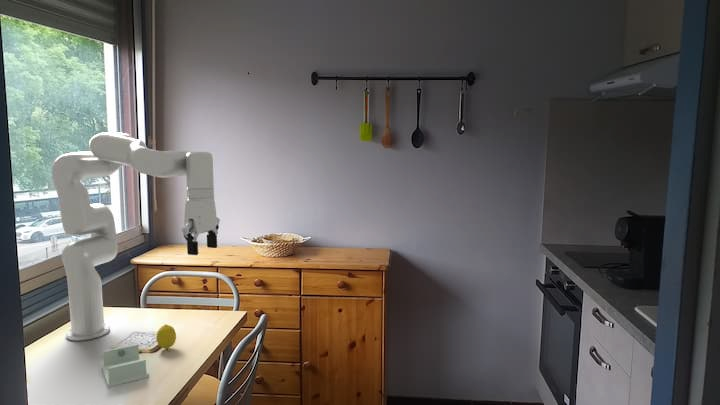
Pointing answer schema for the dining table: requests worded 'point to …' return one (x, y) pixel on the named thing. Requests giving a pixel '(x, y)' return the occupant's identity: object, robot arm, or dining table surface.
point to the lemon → (166, 336)
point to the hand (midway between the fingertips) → (202, 250)
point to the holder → (123, 365)
